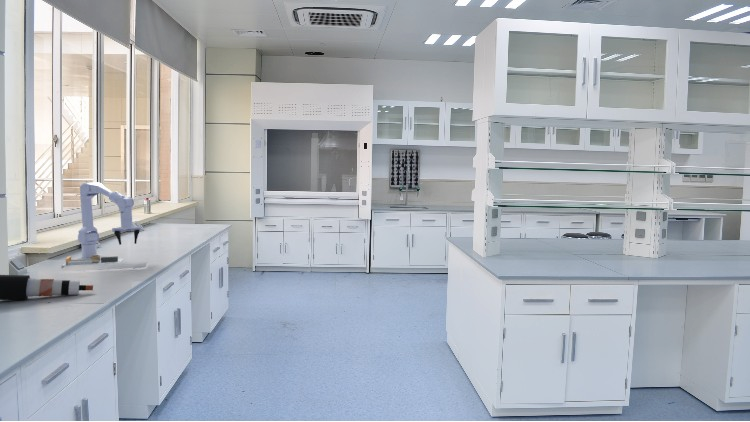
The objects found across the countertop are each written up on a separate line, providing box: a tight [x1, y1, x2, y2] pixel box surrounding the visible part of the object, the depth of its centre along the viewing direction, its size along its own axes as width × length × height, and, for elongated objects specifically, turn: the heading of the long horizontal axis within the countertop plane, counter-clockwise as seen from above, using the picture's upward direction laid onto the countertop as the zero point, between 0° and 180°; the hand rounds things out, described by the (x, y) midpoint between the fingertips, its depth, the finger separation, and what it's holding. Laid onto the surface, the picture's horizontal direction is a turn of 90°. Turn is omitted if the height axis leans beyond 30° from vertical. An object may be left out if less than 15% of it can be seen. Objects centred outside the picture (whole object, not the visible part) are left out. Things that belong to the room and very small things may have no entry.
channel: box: [61, 255, 123, 268], centre depth 285 cm, size 11×28×4 cm, turn 108°
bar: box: [100, 255, 119, 262], centre depth 287 cm, size 2×8×2 cm, turn 108°
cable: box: [0, 274, 94, 301], centre depth 218 cm, size 10×34×10 cm, turn 113°
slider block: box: [89, 254, 101, 262], centre depth 285 cm, size 3×4×4 cm
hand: (127, 244), depth 289 cm, fingers open, 7 cm apart
